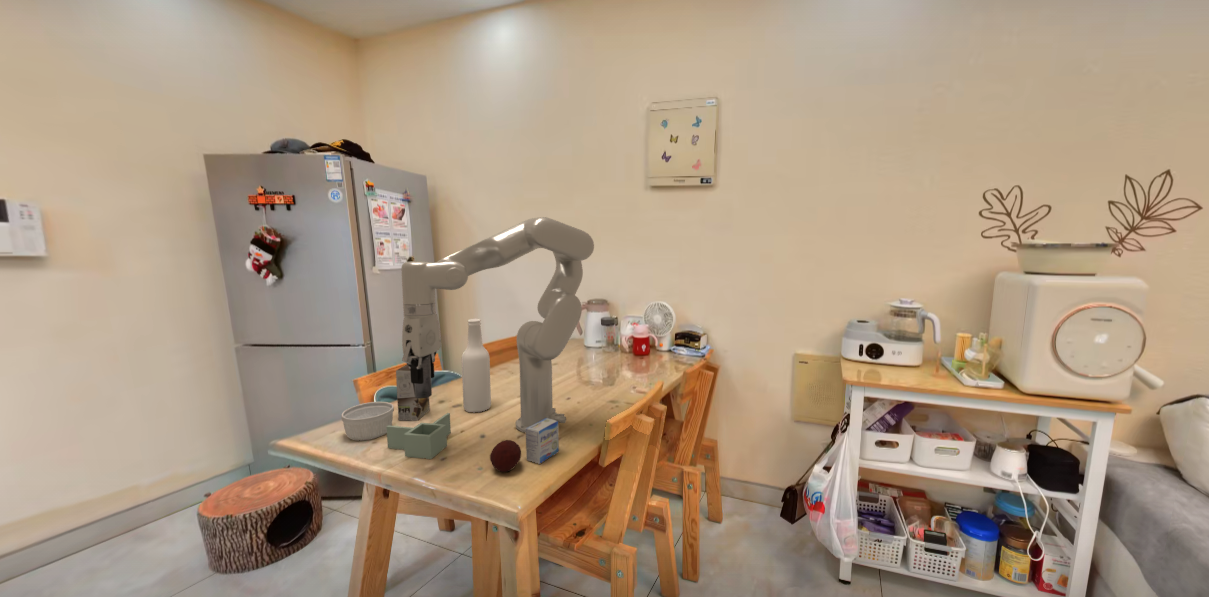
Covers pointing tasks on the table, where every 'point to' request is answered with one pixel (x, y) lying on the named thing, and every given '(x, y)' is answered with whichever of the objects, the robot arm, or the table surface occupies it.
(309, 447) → the table surface
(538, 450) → the medicine box
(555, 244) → the robot arm
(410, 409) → the coffee box
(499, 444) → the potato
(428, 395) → the cylindrical canister
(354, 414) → the ramekin
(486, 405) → the alcohol
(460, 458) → the table surface
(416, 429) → the grey-green frame piece
